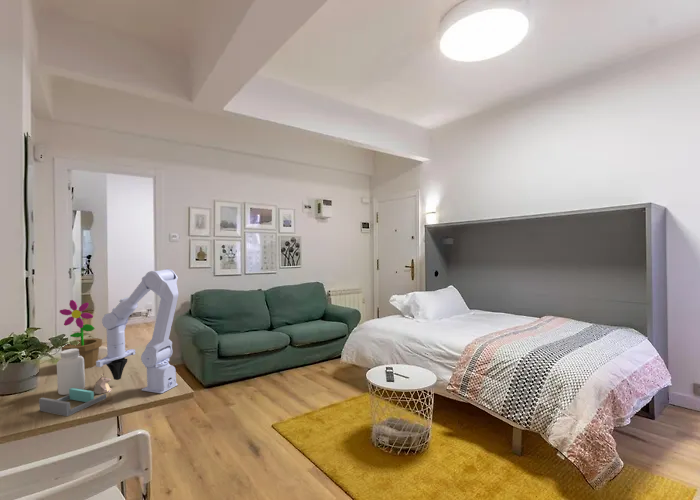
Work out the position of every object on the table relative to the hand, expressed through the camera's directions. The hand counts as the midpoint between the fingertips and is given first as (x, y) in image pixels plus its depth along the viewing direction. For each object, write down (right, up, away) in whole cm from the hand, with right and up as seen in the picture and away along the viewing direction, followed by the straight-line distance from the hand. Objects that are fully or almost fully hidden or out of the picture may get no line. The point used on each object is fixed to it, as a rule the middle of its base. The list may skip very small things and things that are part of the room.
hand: (117, 379), depth 136 cm
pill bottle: (-14, -3, -4) cm, 15 cm away
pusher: (-4, -3, -13) cm, 14 cm away
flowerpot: (-29, -2, +21) cm, 36 cm away
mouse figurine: (-3, -3, -6) cm, 7 cm away
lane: (-5, -3, -15) cm, 16 cm away
